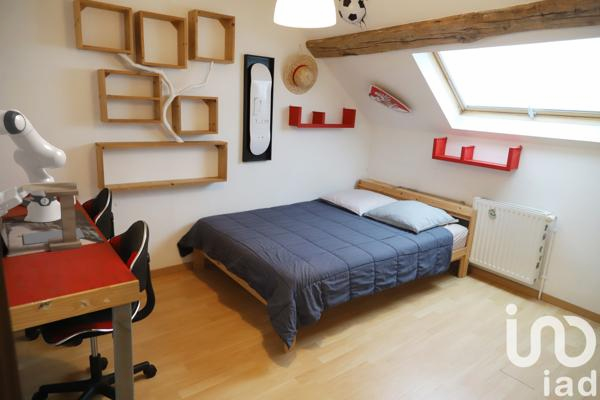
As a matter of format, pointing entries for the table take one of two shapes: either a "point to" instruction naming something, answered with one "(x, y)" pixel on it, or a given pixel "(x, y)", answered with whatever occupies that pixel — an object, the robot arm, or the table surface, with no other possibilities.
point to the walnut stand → (65, 220)
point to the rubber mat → (46, 236)
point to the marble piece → (25, 201)
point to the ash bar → (50, 186)
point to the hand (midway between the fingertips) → (29, 187)
